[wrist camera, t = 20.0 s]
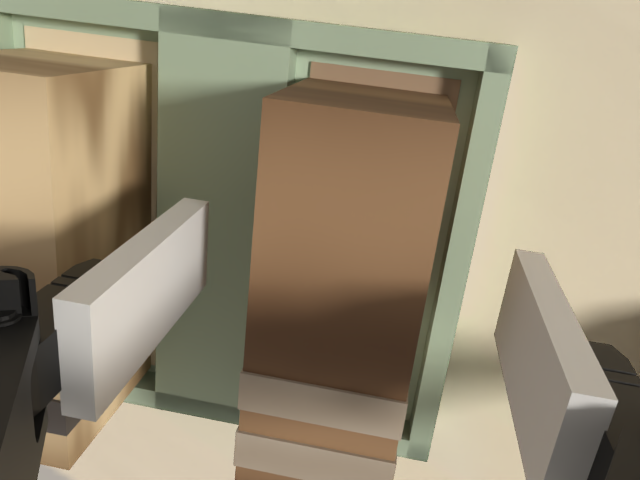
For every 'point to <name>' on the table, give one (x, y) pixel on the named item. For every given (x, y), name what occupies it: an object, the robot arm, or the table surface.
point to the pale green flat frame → (242, 162)
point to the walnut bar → (339, 276)
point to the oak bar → (72, 182)
